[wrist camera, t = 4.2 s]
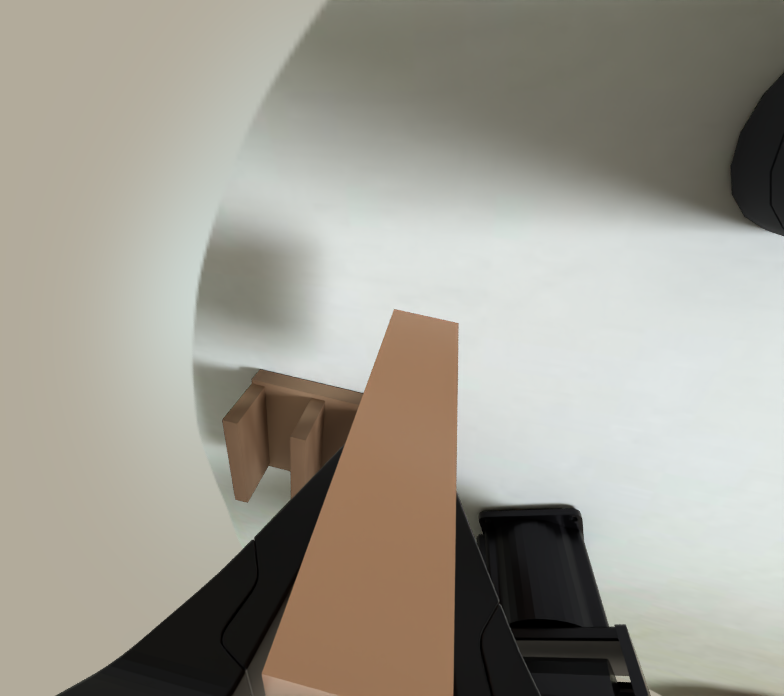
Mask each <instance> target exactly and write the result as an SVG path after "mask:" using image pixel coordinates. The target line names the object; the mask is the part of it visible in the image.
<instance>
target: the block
mask: <svg viewBox="0 0 784 696" xmlns="http://www.w3.org/2000/svg"><path fill="white" fill-rule="evenodd" d="M458 324H459V323H455V322H450V321H446V320H441V319H437V318H432V317H428V316H423V315H419V314H414V313H410V312H405V311H401V310H396V309H394V311H393V314H392V317H391V319H390V322H389V325H388V328H387V330H386V333H385V336H384V339H383V341H382V344H381V347H380V350H379V352H378V355H377V358H376V361H375V363H374V366H373V369H372V372H371V374H370V377H369V380H368V383H367V385H366V388H365V391H364V394H363V396H362V399H361V402H360V405H359V407H358V410H357V413H356V416H355V418H354V421H353V424H352V427H351V429H350V432H349V435H348V438H347V440H346V443H345V446H344V449H343V451H342V454H341V457H340V460H339V462H338V465H337V468H336V471H335V473H334V476H333V479H332V482H331V484H330V487H329V490H328V493H327V495H326V498H325V501H324V504H323V506H322V509H321V512H320V515H319V517H318V520H317V523H316V526H315V528H314V531H313V534H312V537H311V539H310V542H309V545H308V548H307V550H306V553H305V556H304V559H303V561H302V564H301V567H300V570H299V572H298V575H297V578H296V581H295V583H294V586H293V589H292V592H291V594H290V597H289V600H288V603H287V605H286V608H285V611H284V614H283V616H282V619H281V622H280V625H279V627H278V630H277V633H276V636H275V638H274V641H273V644H272V647H271V649H270V652H269V655H268V658H267V660H266V663H265V666H264V669H263V671H262V679H263V684H264V689H265V695H266V696H453V680H454V609H455V538H456V467H457V395H458Z"/></svg>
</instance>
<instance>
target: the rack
mask: <svg viewBox="0 0 784 696" xmlns="http://www.w3.org/2000/svg"><path fill="white" fill-rule="evenodd" d="M362 396H363V393H359V392H354V391H350V390H346V389H342V388H337V387H333V386H329V385H325V384H320V383H316V382H312V381H308V380H303V379H299V378H295V377H291V376H286V375H282V374H278V373H274V372H269V371H265V370H261V369H260V370H259V371H258V372H257V373H256V375H255V376H254V377H253V378H252V384H251V385H250V386H249V388H248V389H247V390H246V391H245V393H244V394H243V395H242V396H241V397H240V399H239V400H238V401H237V402H236V404H235V405H234V406H233V407H232V409H231V410H230V411H229V412H228V413H227V415H226V416H225V417H224V418H223V420H222V422H223V428H224V434H225V440H226V446H227V452H228V458H229V464H230V470H231V476H232V482H233V488H234V494H235V500H239V501H243V502H247V503H248V501H249V499H250V498H251V496H252V494H253V492H254V491H255V489H256V487H257V485H258V484H259V482H260V480H261V478H262V477H263V475H264V473H265V471H266V469H267V468H268V466H272V467H276V468H280V469H284V470H288V471H291V499H292V498H293V497H294V496H295V495H296V494H297V493H298V492H299V490H300V489H301V488H302V487H303V486H304V485H305V484H306V483H307V482H308V481H309V480H310V479H311V478H312V477H313V476H314V475H315V474H316V473H317V472H318V471H319V470H320V469H321V468H322V467H323V466H324V465H325V464H326V462H327V461H328V460H329V459H330V458H331V457H332V456H333V455H334V454H335V453H336V452H337V451H338V450H339V449H340V448H341V447H342V446H343V445H344V444H345V443H346V440H347V438H348V435H349V432H350V429H351V427H352V424H353V421H354V418H355V416H356V413H357V410H358V407H359V405H360V402H361V399H362Z"/></svg>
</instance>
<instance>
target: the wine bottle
mask: <svg viewBox="0 0 784 696" xmlns="http://www.w3.org/2000/svg"><path fill="white" fill-rule="evenodd" d="M731 179H732V195H733V197H734V199H735V200H736V202H737V204H738V206H739V208H740V209H741V211H742V213H743V215H744V216H745V217H746V218H748V219H750V220H751V221H753V222H754V223H756V224H757V225H759V226H760V227H762V228H763V229H765V230H767V231H770V232H773V233H776V234H779V235H782V236H784V73H783V74H782V75H781V77H780V78H779V79H778V80H777V81H776V82H775V83H774V84H773V85H772V86H771V87H770V88H769V90H768V91H767V92H766V93H765V94H764V95H763V96H762V98H761V100H760V101H759V103H758V105H757V106H756V108H755V110H754V111H753V113H752V115H751V116H750V118H749V120H748V121H747V123H746V125H745V126H744V128H743V130H742V131H741V134H740V137H739V140H738V144H737V147H736V150H735V154H734V157H733V160H732V164H731Z"/></svg>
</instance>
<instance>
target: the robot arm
mask: <svg viewBox="0 0 784 696" xmlns="http://www.w3.org/2000/svg"><path fill="white" fill-rule="evenodd" d="M344 446H345V444H344V445H343V446H342V447H341V448H340V449H339V450H338V451H337V452H336V453H335V454H334V455H333V456H332V457H331V458H330V459H329V460H328V461H327V462H326V464H325V465H324V466H323V467H322V468H321V469H320V470H319V471H318V472H317V473H316V474H315V475H314V476H313V477H312V478H311V479H310V480H309V481H308V482H307V483H306V484H305V485H304V486H303V487H302V488H301V489H300V490H299V492H298V493H297V494H296V495H295V496H294V497H293V498H292V499H291V500H290V501H289V502H288V503H287V504H286V505H285V506H284V507H283V508H282V509H281V510H280V511H279V512H278V513H277V514H276V515H275V516H274V517H273V518H272V519H271V521H270V522H269V523H268V524H267V525H266V526H265V527H264V528H263V529H262V530H261V531H260V532H259V533H258V534H257V535H256V536H255V537H254V540H255V541H254V540H251V541H250V542H249V543H248V544H247V545H246V546H245V547H244V548H243V549H242V550H241V552H239V554H238V555H236V556H235V558H233V559H232V560H231V561H230V562H229V563H228V564H227V565H226V566H225V567H224V568H223V569H222V570H221V571H220V572H219V573H218V574H217V575H216V576H215V577H213V578H212V579H211V580H210V581H209V582H208V583H207V584H206V585H204V587H202V588H201V589H200V590H199V591H198V592H197V593H195V594H194V595H193V596H192V597H191V598H190V599H188V600H187V601H186V602H185V603H184V604H183V605H181V606H180V607H179V608H178V609H177V610H176V611H174V612H173V613H172V614H171V615H170V616H169V617H167V618H166V619H165V620H164V621H163V622H161V623H160V624H159V625H158V626H157V627H156V628H154V629H153V630H152V631H151V632H150V633H149V634H147V635H146V636H145V637H144V638H143V639H142V640H140V641H139V642H138V643H137V644H136V645H134V646H133V647H132V648H131V649H129V650H128V651H127V652H126V653H124V654H123V655H122V656H120V657H119V658H118V659H116V660H115V661H114V662H112V663H111V664H109V665H108V666H106V667H105V668H103V669H102V670H100V671H98V672H97V673H95V674H93V675H92V676H90V677H88V678H86V679H85V680H83V681H81V682H79V683H77V684H76V685H74V686H72V687H71V688H68V689H67V690H65V691H63V692H61V693H60V694H58V695H56V696H266V695H265V689H264V684H263V679H262V671H263V669H264V666H265V663H266V660H267V658H268V655H269V652H270V649H271V647H272V644H273V641H274V638H275V636H276V633H277V630H278V627H279V625H280V622H281V619H282V616H283V614H284V611H285V608H286V605H287V603H288V600H289V597H290V594H291V592H292V589H293V586H294V583H295V581H296V578H297V575H298V572H299V570H300V567H301V564H302V561H303V559H304V556H305V553H306V550H307V548H308V545H309V542H310V539H311V537H312V534H313V531H314V528H315V526H316V523H317V520H318V517H319V515H320V512H321V509H322V506H323V504H324V501H325V498H326V495H327V493H328V490H329V487H330V484H331V482H332V479H333V476H334V473H335V471H336V468H337V465H338V462H339V460H340V457H341V454H342V451H343V449H344ZM479 522H480V526H481V529H482V532H483V534H479V535H478V537H477V543H476V540H475V537H474V535H473V532H472V530H471V527H470V525H469V522H468V519H467V517H466V514H465V512H464V509H463V507H462V504H461V502H460V499H459V496H458V494H457V491H456V538H455V609H454V680H453V696H651V695H650V692H649V689H648V686H647V683H646V680H645V677H644V674H643V671H642V668H641V665H640V662H639V660H638V657H637V654H636V651H635V649H634V646H633V643H632V641H631V638H630V635H629V632H628V630H627V627H626V624H619V625H615V627H609V624H608V621H607V618H606V614H605V611H604V607H603V604H602V601H601V597H600V594H599V590H598V587H597V584H596V580H595V577H594V573H593V570H592V567H591V563H590V560H589V557H588V553H587V550H586V546H585V543H584V536H583V522H582V517H581V513H580V511H579V510H577V509H546V510H514V511H485V512H481V513H480V514H479ZM615 675H616V676H629V677H630V680H631V682H617V680H616V677H615Z"/></svg>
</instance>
